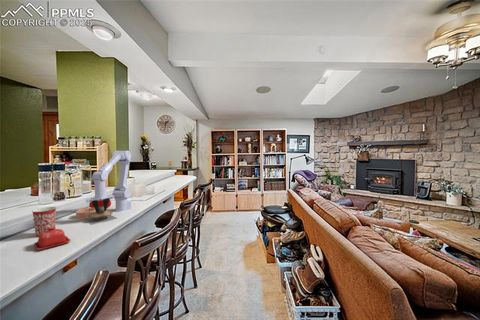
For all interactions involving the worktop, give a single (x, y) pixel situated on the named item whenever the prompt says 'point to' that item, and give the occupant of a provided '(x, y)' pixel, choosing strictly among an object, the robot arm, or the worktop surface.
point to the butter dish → (51, 238)
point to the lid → (100, 213)
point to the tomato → (100, 204)
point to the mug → (43, 219)
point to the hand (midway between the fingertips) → (101, 211)
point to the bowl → (84, 213)
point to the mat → (100, 219)
